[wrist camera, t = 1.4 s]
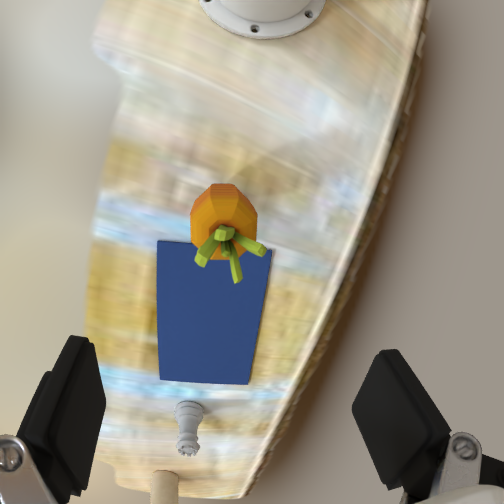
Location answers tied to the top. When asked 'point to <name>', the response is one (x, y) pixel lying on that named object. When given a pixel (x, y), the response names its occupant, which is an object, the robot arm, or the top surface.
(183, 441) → the rook chess piece
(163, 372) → the napkin
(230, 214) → the carrot
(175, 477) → the candle
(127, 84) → the top surface
